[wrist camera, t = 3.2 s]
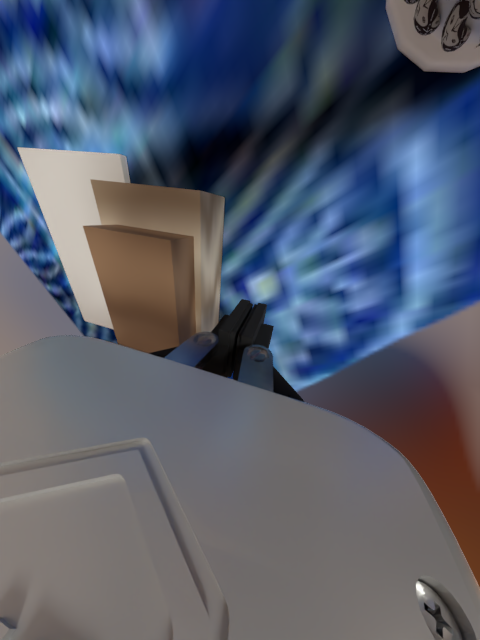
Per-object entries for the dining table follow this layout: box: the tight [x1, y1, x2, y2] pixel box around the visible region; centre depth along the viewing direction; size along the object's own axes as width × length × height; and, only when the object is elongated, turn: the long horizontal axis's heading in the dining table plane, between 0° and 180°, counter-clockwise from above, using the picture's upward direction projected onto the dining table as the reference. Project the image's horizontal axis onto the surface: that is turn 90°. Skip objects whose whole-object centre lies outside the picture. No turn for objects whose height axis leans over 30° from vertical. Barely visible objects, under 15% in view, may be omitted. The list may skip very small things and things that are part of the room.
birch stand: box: [90, 179, 225, 333], centre depth 17 cm, size 14×8×4 cm, turn 174°
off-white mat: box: [17, 147, 130, 329], centre depth 20 cm, size 18×11×1 cm, turn 174°
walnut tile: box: [83, 225, 196, 353], centre depth 14 cm, size 9×6×2 cm, turn 174°
